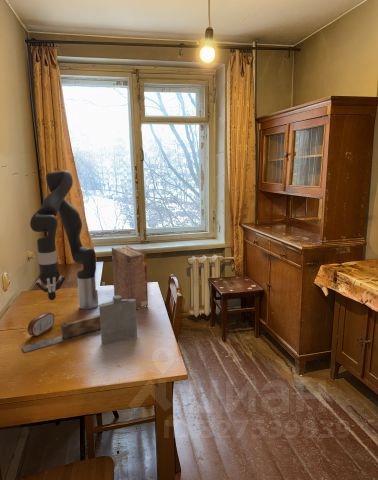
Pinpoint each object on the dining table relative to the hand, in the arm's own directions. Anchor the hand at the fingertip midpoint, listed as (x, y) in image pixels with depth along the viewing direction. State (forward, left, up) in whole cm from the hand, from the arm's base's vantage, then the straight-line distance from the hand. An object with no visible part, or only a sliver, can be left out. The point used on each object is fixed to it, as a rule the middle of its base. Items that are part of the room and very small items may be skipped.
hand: (52, 299), depth 154 cm
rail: (-4, +2, -19) cm, 19 cm away
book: (-47, -20, -19) cm, 54 cm away
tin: (+3, -11, -19) cm, 22 cm away
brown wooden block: (-12, +2, -19) cm, 22 cm away
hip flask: (-23, +17, -19) cm, 34 cm away
